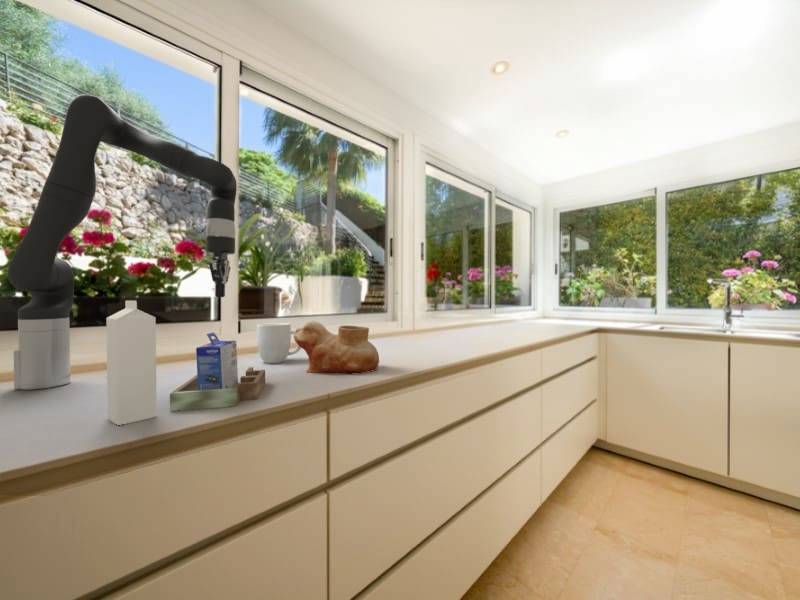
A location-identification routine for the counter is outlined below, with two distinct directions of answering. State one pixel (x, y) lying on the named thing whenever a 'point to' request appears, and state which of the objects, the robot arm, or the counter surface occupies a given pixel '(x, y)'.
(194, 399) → the wooden compartment tray
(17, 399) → the counter surface
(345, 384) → the counter surface
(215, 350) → the ink cartridge box
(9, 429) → the counter surface
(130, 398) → the milk
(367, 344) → the ceramic vessel
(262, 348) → the mug
